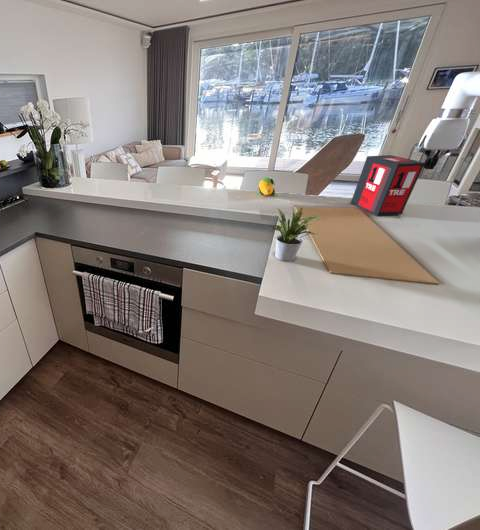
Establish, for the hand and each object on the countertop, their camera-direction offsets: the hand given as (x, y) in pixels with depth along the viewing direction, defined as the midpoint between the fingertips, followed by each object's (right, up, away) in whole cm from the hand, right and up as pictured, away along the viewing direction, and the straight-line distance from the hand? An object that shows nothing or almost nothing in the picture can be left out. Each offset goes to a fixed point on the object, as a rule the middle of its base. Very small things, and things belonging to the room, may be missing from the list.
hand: (427, 168), depth 109 cm
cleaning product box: (-10, -13, +12) cm, 20 cm away
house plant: (-65, -35, -19) cm, 77 cm away
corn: (-43, -1, +37) cm, 57 cm away
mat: (-37, -26, -8) cm, 46 cm away
